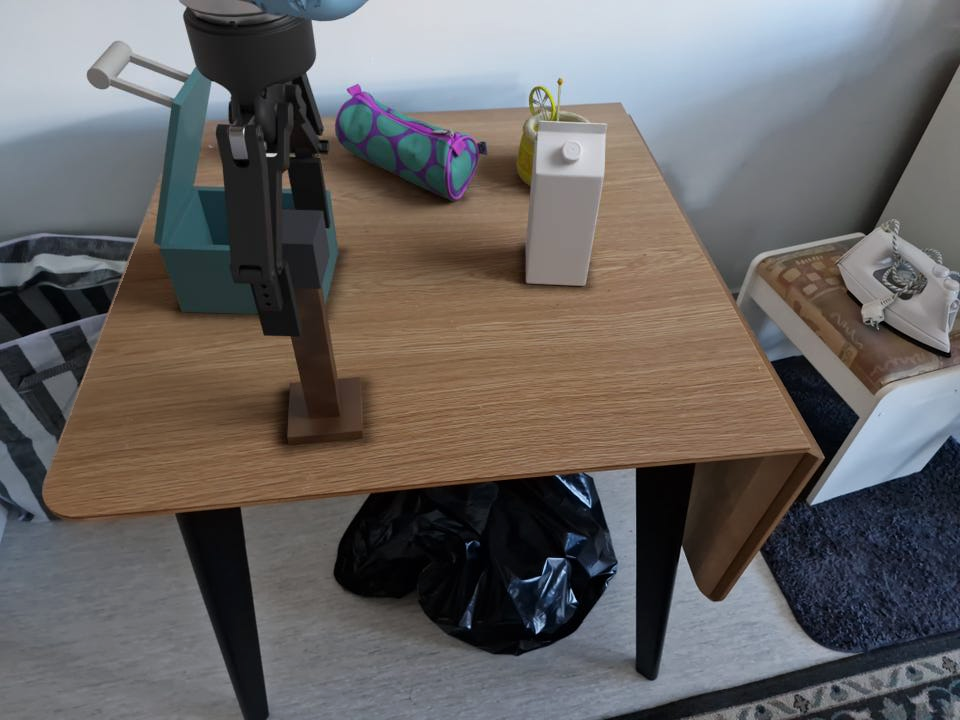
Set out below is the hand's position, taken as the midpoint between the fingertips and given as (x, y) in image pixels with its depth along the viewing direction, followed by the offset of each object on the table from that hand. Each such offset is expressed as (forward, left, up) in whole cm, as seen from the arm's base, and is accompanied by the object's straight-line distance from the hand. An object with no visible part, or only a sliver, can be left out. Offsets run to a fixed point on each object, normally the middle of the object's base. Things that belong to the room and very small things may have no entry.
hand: (300, 275), depth 59 cm
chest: (+5, +22, -18) cm, 29 cm away
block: (0, 0, 0) cm, 1 cm away
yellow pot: (+49, +17, -18) cm, 55 cm away
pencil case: (+33, +30, -18) cm, 48 cm away
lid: (+2, +25, -1) cm, 25 cm away
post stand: (0, 0, -18) cm, 18 cm away
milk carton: (+34, +2, -18) cm, 38 cm away
